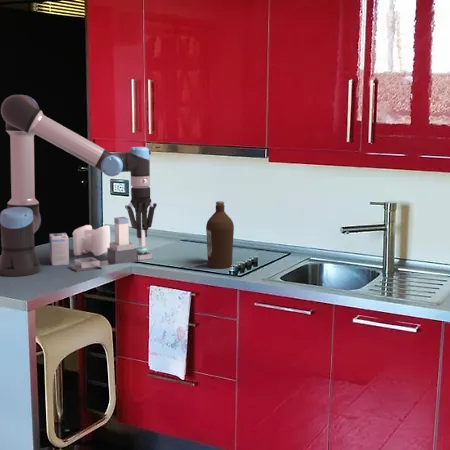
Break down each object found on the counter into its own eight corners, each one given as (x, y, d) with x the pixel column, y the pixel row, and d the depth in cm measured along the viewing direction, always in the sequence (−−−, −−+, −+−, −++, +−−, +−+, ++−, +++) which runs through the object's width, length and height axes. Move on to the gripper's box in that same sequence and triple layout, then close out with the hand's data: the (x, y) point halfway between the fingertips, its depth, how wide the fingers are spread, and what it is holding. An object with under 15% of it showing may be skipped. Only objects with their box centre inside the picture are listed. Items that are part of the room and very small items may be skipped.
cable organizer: (96, 259, 279) (95, 231, 277) (72, 258, 281) (71, 229, 279) (111, 251, 293) (110, 224, 291) (88, 250, 296) (87, 223, 294)
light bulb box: (50, 259, 278) (48, 233, 276) (67, 258, 280) (66, 232, 278) (52, 265, 268) (51, 238, 266) (69, 264, 270) (68, 237, 268)
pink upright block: (119, 249, 268) (118, 219, 266) (113, 247, 273) (113, 217, 270) (129, 248, 271) (128, 218, 268) (123, 246, 275) (122, 216, 273)
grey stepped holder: (77, 271, 258) (76, 250, 257) (69, 267, 265) (69, 247, 263) (154, 261, 275) (153, 241, 274) (145, 257, 282) (145, 238, 280)
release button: (139, 253, 273) (139, 250, 273) (134, 251, 277) (134, 248, 276) (149, 252, 275) (149, 248, 275) (144, 250, 279) (144, 246, 279)
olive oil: (231, 262, 274) (231, 199, 270) (235, 268, 264) (235, 203, 259) (204, 263, 273) (204, 200, 268) (207, 269, 262) (207, 204, 258)
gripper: (129, 188, 265) (131, 249, 269) (159, 186, 272) (161, 245, 276) (121, 186, 271) (123, 246, 275) (151, 184, 278) (152, 242, 282)
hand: (142, 245), depth 276 cm, fingers closed
